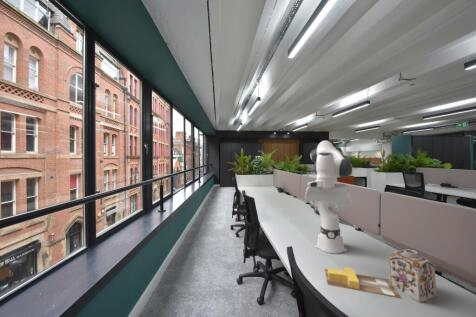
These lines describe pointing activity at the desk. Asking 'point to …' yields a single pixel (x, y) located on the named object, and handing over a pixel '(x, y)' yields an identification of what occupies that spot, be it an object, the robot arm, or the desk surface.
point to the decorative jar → (412, 274)
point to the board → (368, 285)
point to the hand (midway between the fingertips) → (326, 210)
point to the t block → (345, 277)
